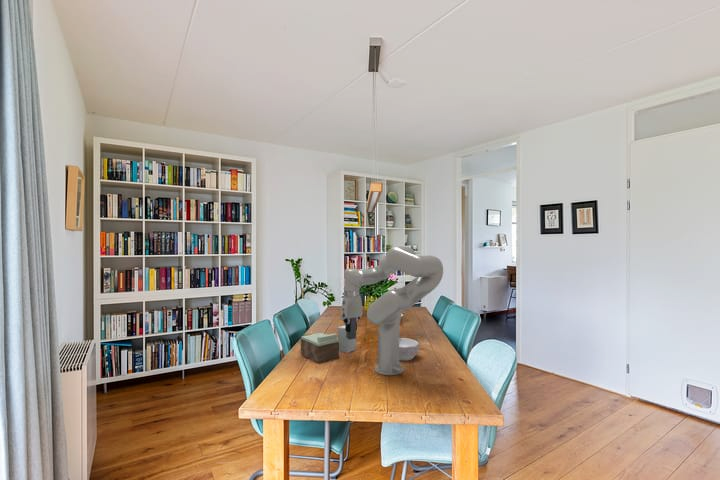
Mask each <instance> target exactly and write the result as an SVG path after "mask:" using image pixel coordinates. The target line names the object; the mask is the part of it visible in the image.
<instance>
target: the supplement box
mask: <svg viewBox="0 0 720 480" xmlns="http://www.w3.org/2000/svg"><path fill="white" fill-rule="evenodd" d="M337 339H339V352H341V353H342V352H343V353H346V354H349V353H351V352H354V351H356V350H357V337H356V338H355V339H351V340H350V339H348V338H346V331H345V324H344V325H341V326H338V327H337Z"/></svg>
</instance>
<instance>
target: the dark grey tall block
mask: <svg viewBox="0 0 720 480" xmlns="http://www.w3.org/2000/svg"><path fill="white" fill-rule="evenodd" d="M346 338H348V339H350V340H351V339H355V338H356V339H357V331H356V318H350V332H346Z"/></svg>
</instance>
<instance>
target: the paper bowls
mask: <svg viewBox="0 0 720 480" xmlns="http://www.w3.org/2000/svg"><path fill="white" fill-rule="evenodd" d="M419 347H420V346H419V342H418V341H416V340H414V339H412V338H407V337H399V361H401V362H402V361H411V360H413V359H414V358H415V356H417V355H418V354H419Z"/></svg>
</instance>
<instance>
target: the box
mask: <svg viewBox="0 0 720 480" xmlns="http://www.w3.org/2000/svg"><path fill="white" fill-rule="evenodd" d="M307 335H312V334H311V333H310V334H303V335H302V336H307ZM300 353H301V356H302V357H304V358H306V359H308V360H310V361H312V362H314V363H316V364H318V365H319V364H323V363H327V362H331V361H335V360H339V358H340V351H339V342H335V343H331V344H326V345H322V346H317V345H314V344H312V343H310V342H308V341H305V340H303V339H301V338H300Z"/></svg>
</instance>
